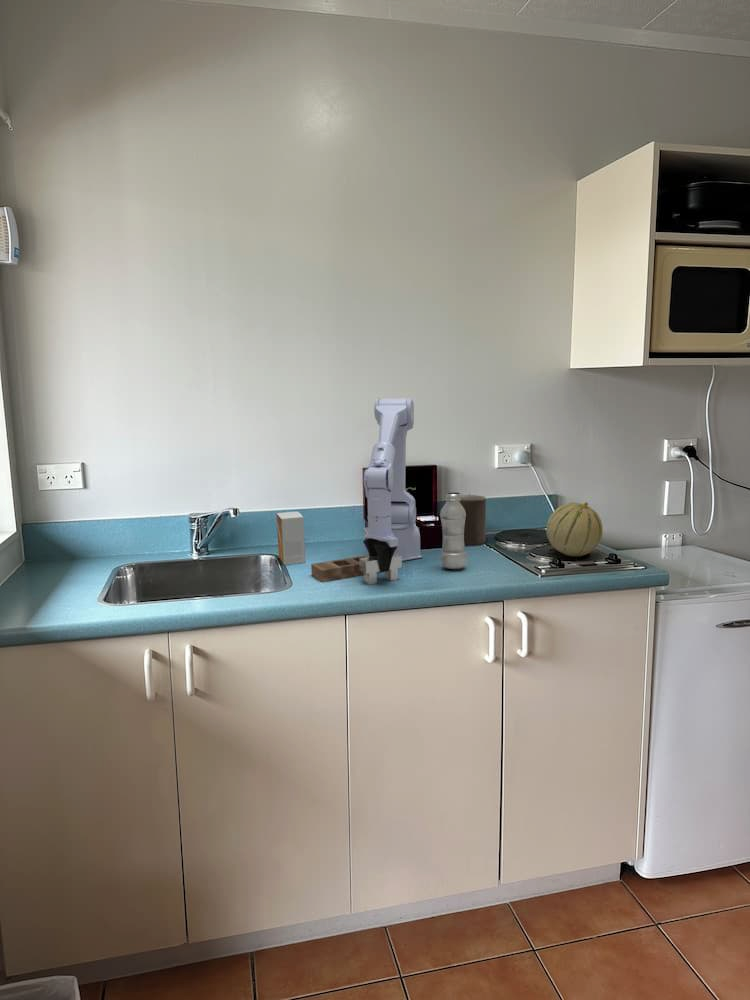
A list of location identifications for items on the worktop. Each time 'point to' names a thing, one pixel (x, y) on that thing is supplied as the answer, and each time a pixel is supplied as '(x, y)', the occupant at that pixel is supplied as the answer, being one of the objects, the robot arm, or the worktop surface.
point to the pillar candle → (474, 519)
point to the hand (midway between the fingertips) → (380, 569)
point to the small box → (291, 538)
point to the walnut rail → (337, 569)
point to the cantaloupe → (574, 529)
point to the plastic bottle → (453, 532)
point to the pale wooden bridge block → (372, 567)
